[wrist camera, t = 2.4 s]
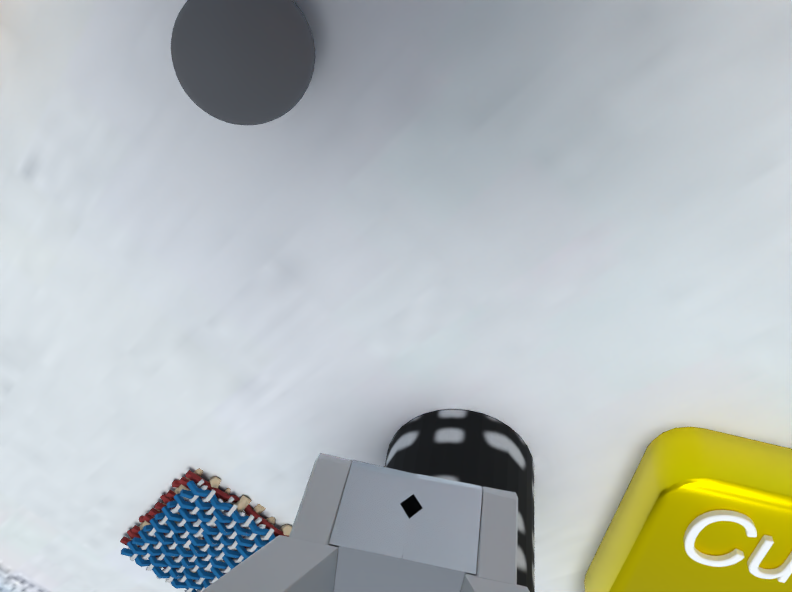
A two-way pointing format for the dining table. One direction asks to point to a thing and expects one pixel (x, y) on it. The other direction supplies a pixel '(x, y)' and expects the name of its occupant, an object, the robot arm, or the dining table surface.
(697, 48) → the dining table surface
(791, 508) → the element tile
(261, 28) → the dark grey round ball
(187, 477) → the woven mat
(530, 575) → the spotted tube
